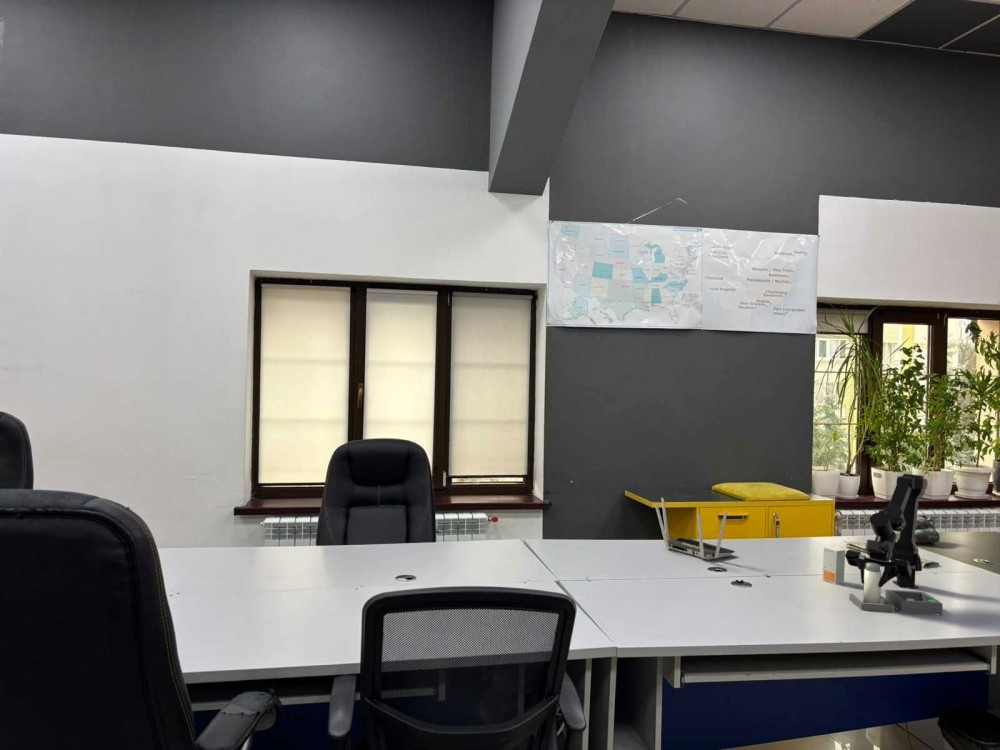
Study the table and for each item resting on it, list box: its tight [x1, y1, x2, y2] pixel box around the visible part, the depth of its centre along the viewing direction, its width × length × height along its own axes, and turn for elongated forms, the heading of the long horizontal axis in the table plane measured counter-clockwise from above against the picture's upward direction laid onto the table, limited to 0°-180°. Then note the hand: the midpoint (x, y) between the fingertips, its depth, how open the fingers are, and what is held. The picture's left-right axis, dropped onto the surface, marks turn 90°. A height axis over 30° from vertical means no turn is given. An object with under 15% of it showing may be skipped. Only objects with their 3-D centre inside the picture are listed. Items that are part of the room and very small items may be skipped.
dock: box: [884, 589, 943, 616], centre depth 231 cm, size 12×12×4 cm
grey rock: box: [914, 515, 941, 545], centre depth 325 cm, size 15×12×14 cm
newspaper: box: [843, 540, 940, 569], centre depth 298 cm, size 35×12×4 cm, turn 27°
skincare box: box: [822, 545, 846, 585], centre depth 257 cm, size 6×4×12 cm
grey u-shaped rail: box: [848, 593, 896, 612], centre depth 231 cm, size 10×10×2 cm
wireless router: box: [654, 496, 735, 560], centre depth 292 cm, size 34×23×20 cm
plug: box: [862, 563, 882, 604], centre depth 231 cm, size 5×5×13 cm
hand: (870, 584), depth 230 cm, fingers closed on plug, 5 cm apart
